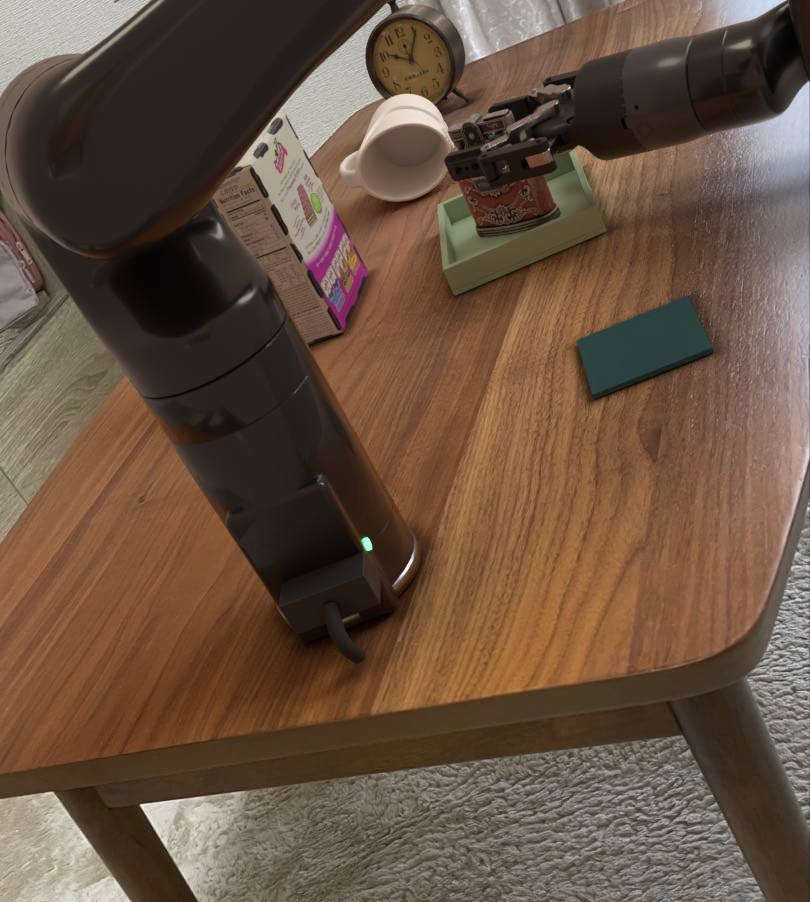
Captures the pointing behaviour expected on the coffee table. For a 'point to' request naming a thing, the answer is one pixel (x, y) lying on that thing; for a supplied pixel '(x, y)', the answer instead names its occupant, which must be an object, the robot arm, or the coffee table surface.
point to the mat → (643, 347)
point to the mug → (400, 151)
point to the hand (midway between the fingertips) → (471, 142)
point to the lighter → (507, 203)
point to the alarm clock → (416, 54)
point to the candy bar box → (294, 231)
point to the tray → (494, 257)
